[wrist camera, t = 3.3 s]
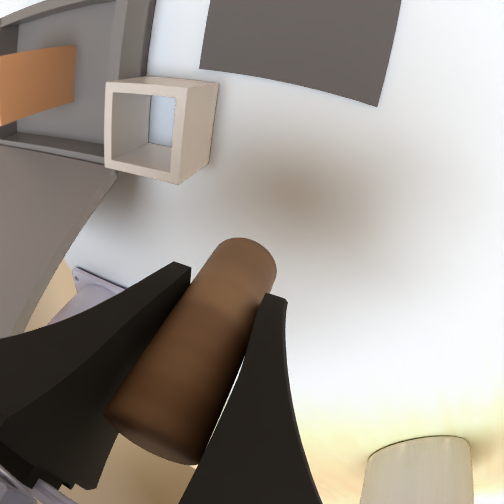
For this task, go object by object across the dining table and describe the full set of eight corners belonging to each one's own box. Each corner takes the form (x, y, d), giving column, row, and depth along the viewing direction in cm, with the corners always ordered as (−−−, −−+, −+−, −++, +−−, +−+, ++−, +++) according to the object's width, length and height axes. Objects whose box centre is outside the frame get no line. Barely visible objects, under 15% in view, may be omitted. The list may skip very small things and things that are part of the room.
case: (200, 246, 20) (80, 405, 10) (24, 189, 23) (-79, 262, 13) (236, -16, 11) (22, -101, 1) (20, 17, 14) (-114, 50, 4)
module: (73, 102, 17) (1, 126, 12) (39, 101, 17) (-26, 124, 12) (76, 44, 14) (0, 55, 9) (41, 50, 15) (-28, 64, 10)
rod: (268, 301, 12) (198, 473, 6) (210, 281, 12) (114, 433, 7) (283, 249, 11) (202, 445, 5) (216, 229, 11) (93, 393, 5)
